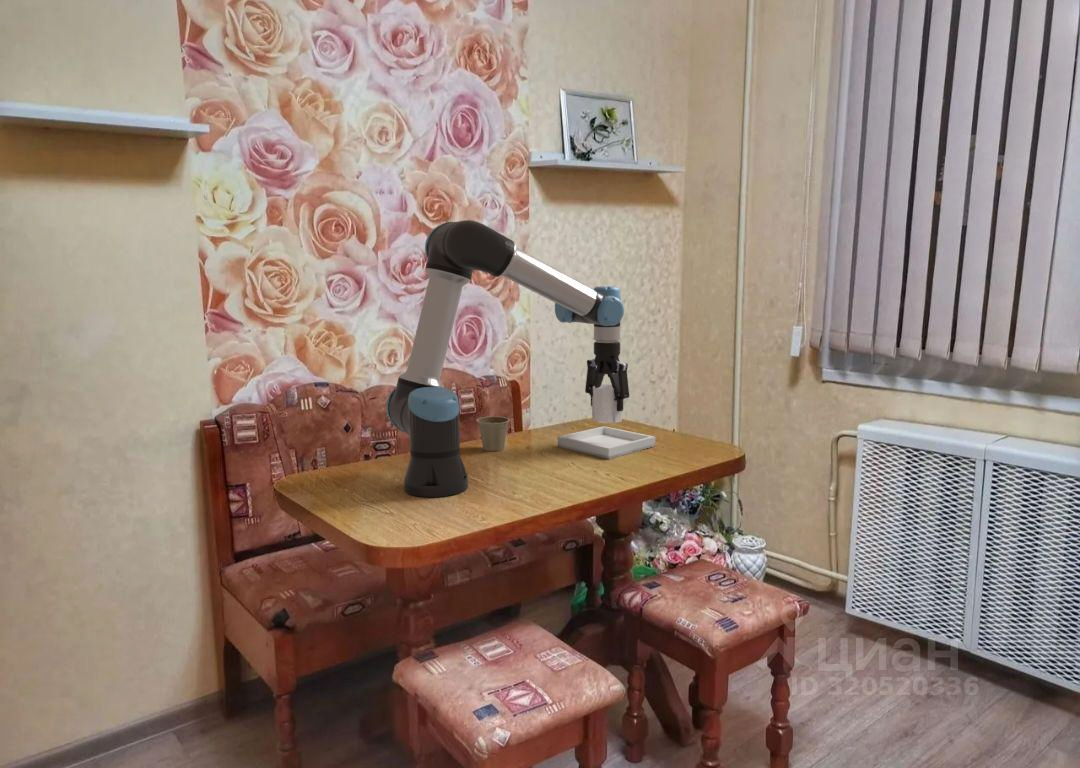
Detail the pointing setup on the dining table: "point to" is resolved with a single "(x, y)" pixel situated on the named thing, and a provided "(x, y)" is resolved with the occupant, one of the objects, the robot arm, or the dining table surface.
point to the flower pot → (493, 432)
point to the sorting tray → (606, 442)
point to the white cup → (603, 403)
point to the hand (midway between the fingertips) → (606, 419)
